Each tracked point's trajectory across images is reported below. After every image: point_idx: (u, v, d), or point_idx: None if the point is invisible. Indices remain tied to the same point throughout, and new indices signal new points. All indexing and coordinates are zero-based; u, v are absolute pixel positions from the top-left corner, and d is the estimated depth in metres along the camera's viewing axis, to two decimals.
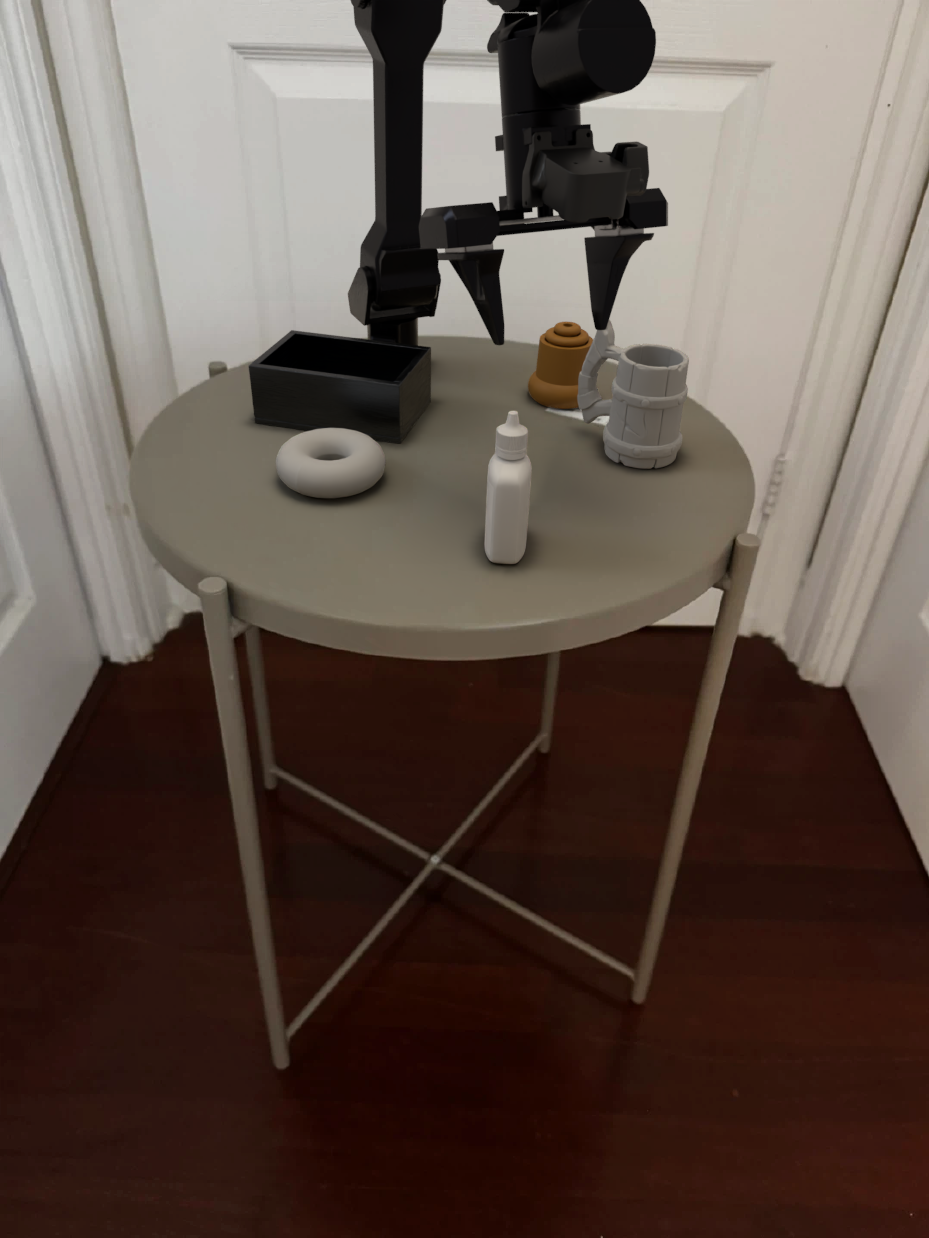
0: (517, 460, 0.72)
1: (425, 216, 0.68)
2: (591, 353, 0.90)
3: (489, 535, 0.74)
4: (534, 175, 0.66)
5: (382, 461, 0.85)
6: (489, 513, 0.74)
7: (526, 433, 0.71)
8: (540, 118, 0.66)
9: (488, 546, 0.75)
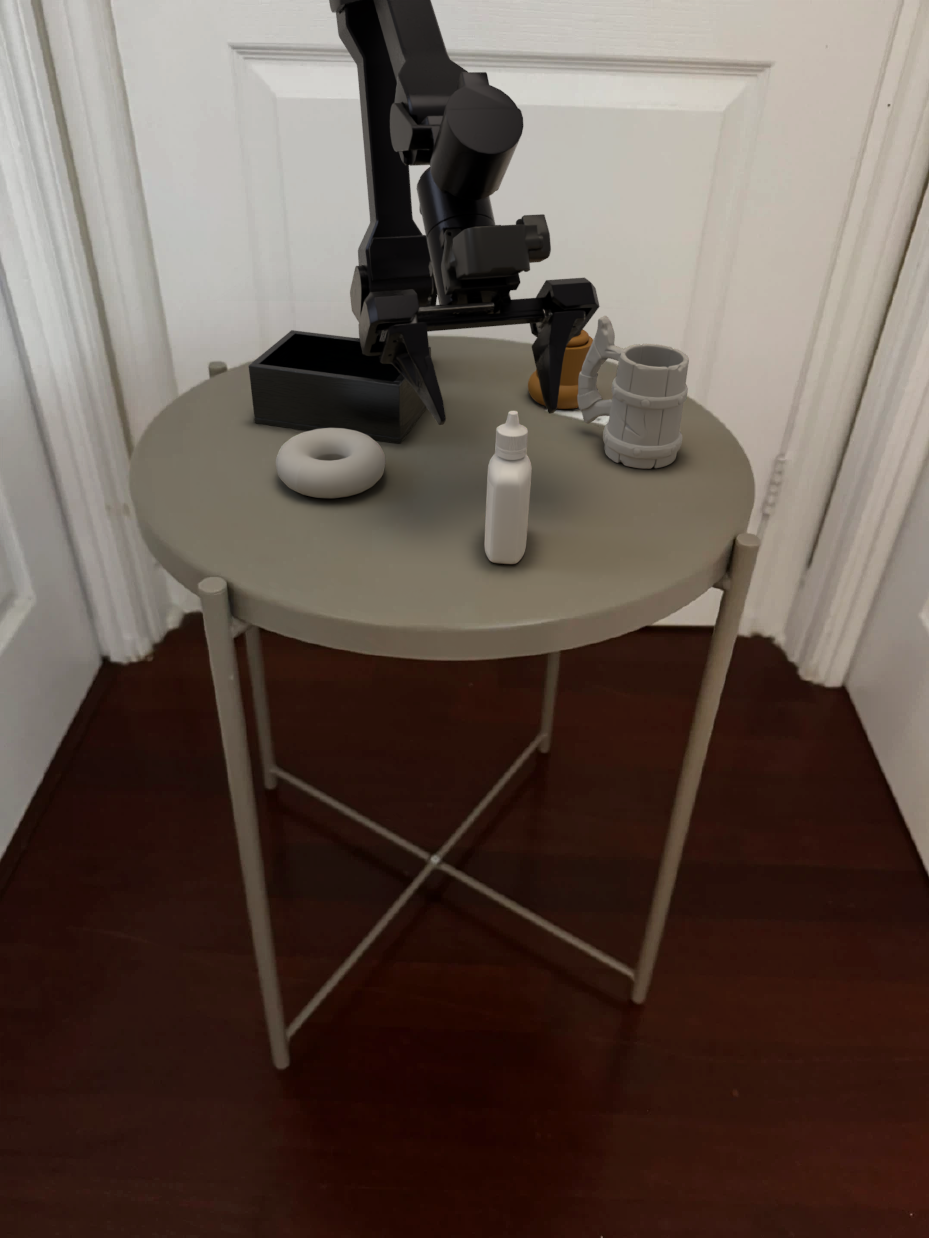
0: (517, 460, 0.72)
1: (359, 320, 0.74)
2: (591, 353, 0.90)
3: (489, 535, 0.74)
4: (448, 261, 0.72)
5: (382, 461, 0.85)
6: (489, 513, 0.74)
7: (526, 433, 0.71)
8: (451, 224, 0.73)
9: (488, 546, 0.75)
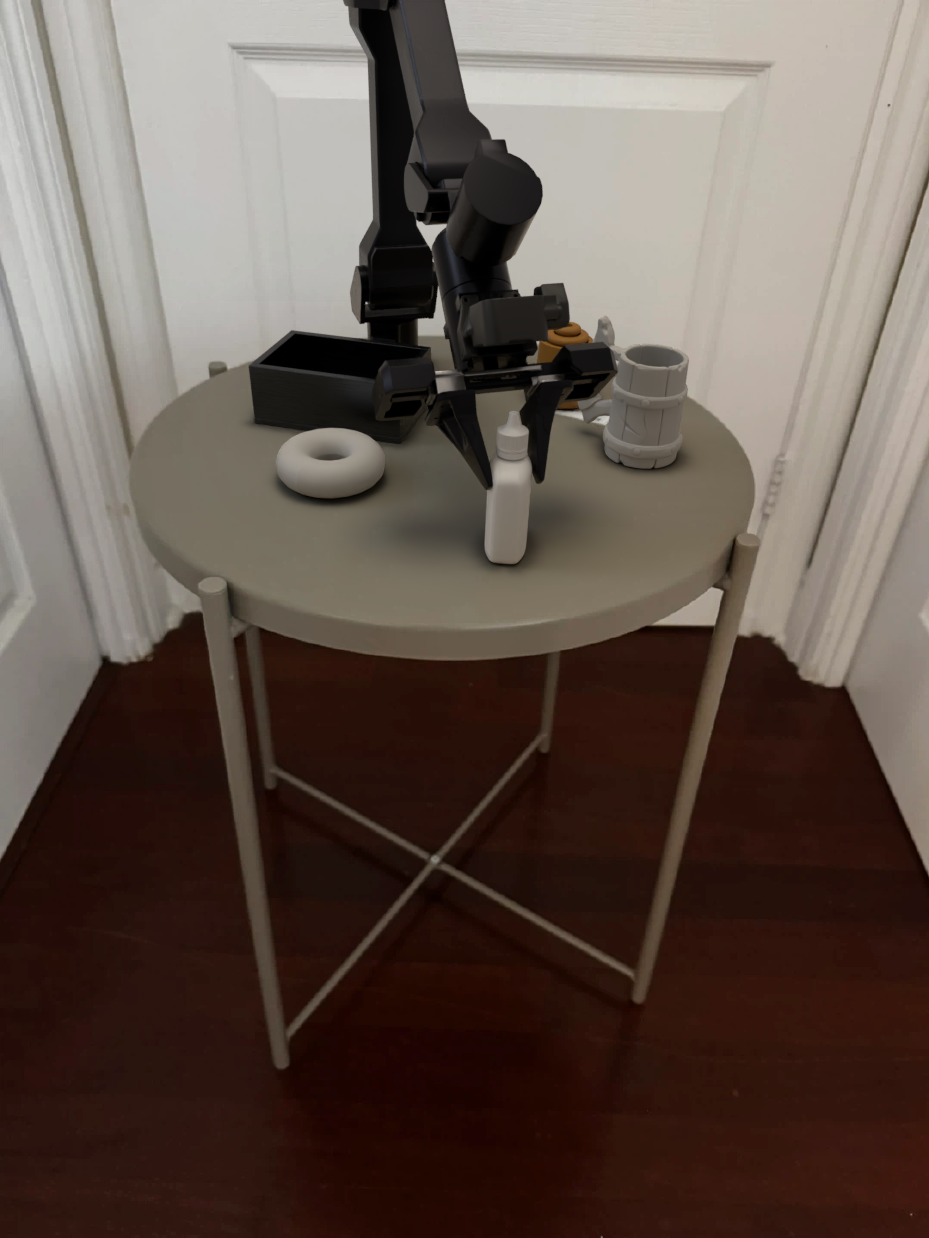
0: (517, 461, 0.72)
1: (373, 386, 0.73)
2: None
3: (489, 535, 0.74)
4: (464, 328, 0.70)
5: (382, 461, 0.85)
6: (489, 513, 0.74)
7: (527, 433, 0.71)
8: (467, 288, 0.72)
9: (488, 546, 0.75)
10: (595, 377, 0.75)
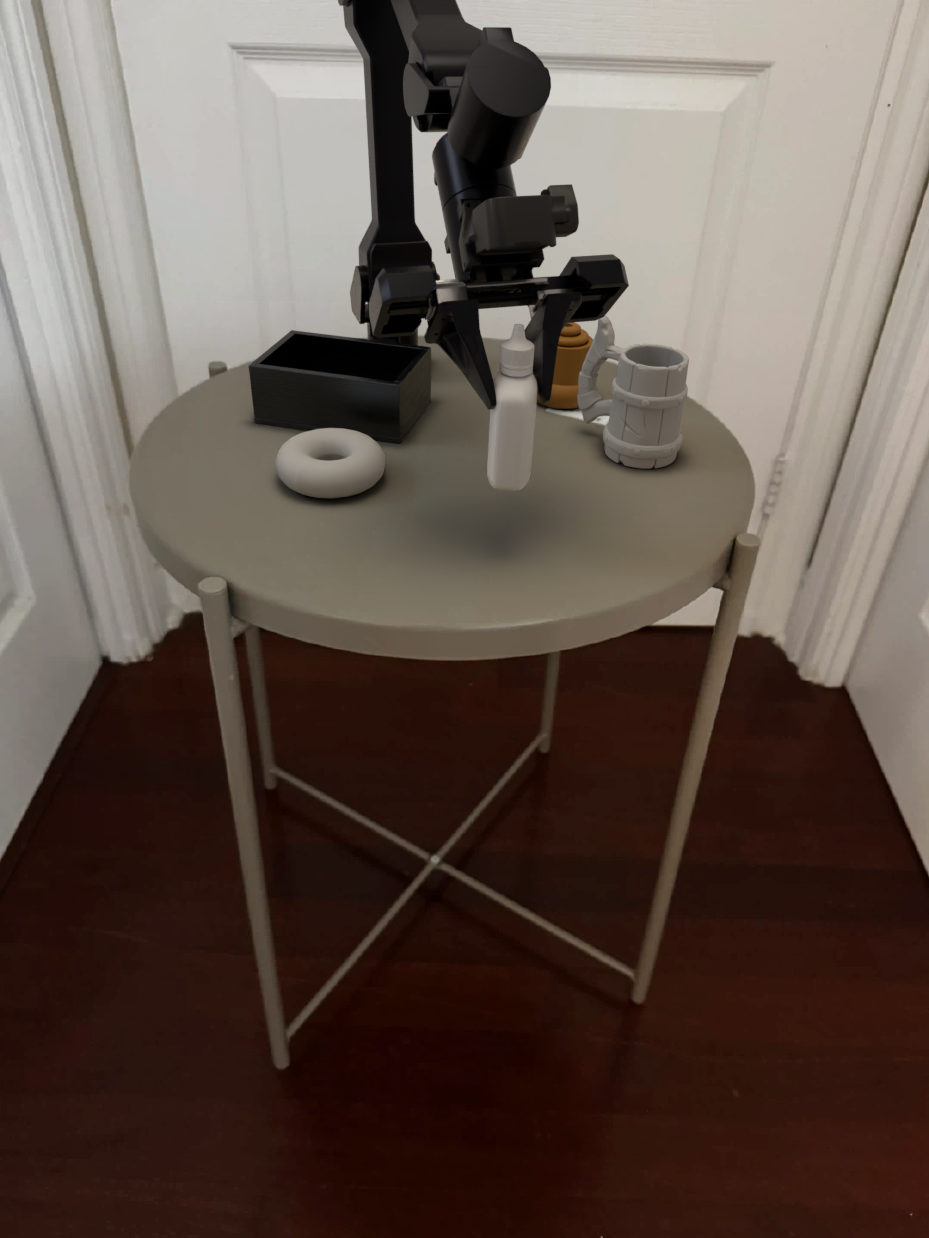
0: (522, 378, 0.68)
1: (370, 299, 0.69)
2: (591, 353, 0.90)
3: (492, 459, 0.71)
4: (467, 235, 0.66)
5: (382, 461, 0.85)
6: (492, 435, 0.70)
7: (532, 348, 0.67)
8: (470, 194, 0.68)
9: (491, 471, 0.71)
10: (604, 293, 0.71)
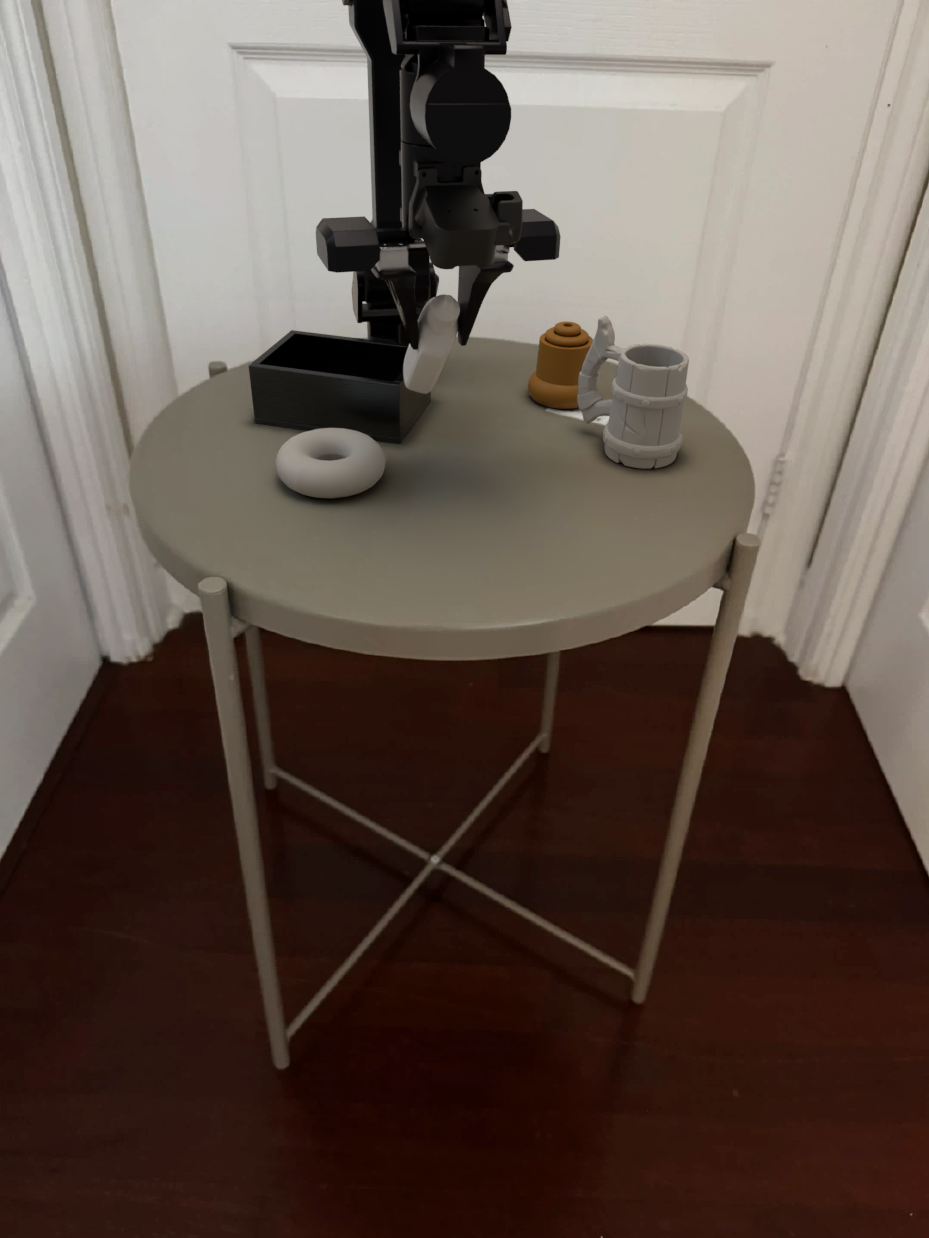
0: (444, 332, 0.77)
1: (318, 228, 0.72)
2: (591, 353, 0.90)
3: (408, 373, 0.82)
4: (417, 209, 0.69)
5: (382, 461, 0.85)
6: (411, 360, 0.81)
7: (457, 316, 0.76)
8: (429, 154, 0.68)
9: (406, 376, 0.84)
10: None
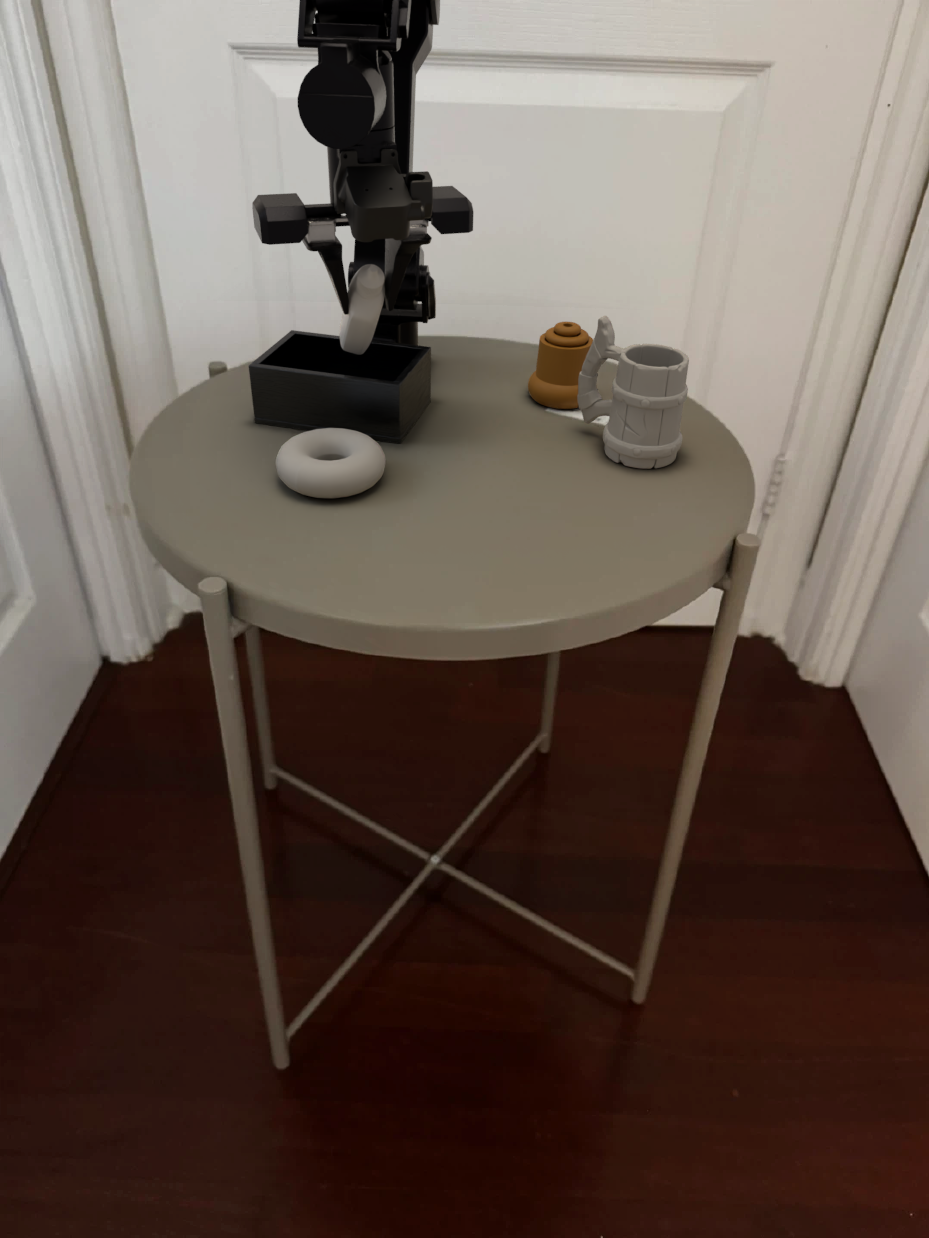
0: (372, 298, 0.86)
1: (253, 204, 0.80)
2: (591, 353, 0.90)
3: (343, 335, 0.91)
4: (340, 188, 0.77)
5: (382, 461, 0.85)
6: (344, 324, 0.89)
7: (382, 283, 0.84)
8: None
9: (341, 339, 0.92)
10: None
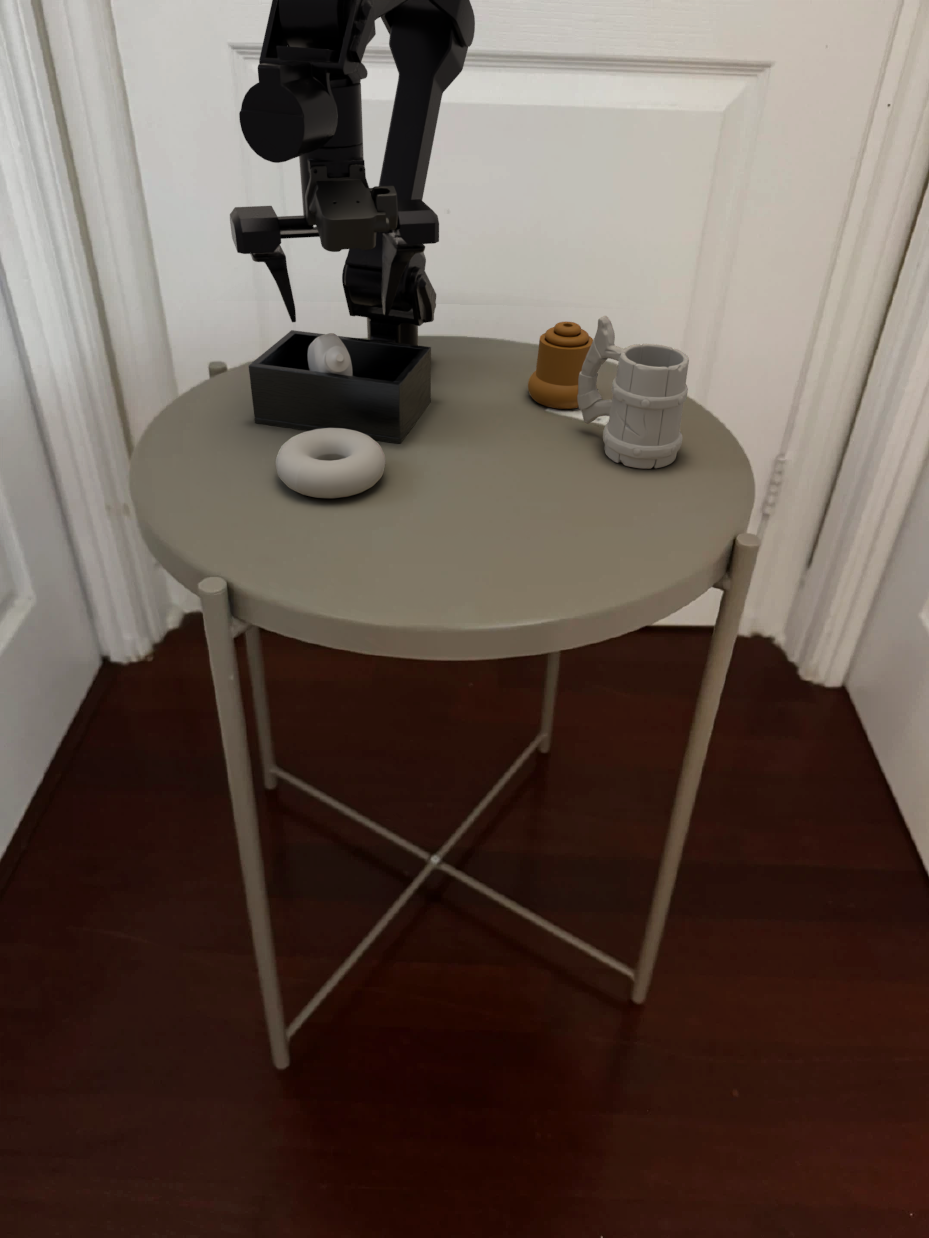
0: None
1: (230, 216, 0.85)
2: (591, 353, 0.90)
3: None
4: (310, 201, 0.82)
5: (382, 461, 0.85)
6: None
7: (350, 359, 0.90)
8: (319, 154, 0.81)
9: None
10: None
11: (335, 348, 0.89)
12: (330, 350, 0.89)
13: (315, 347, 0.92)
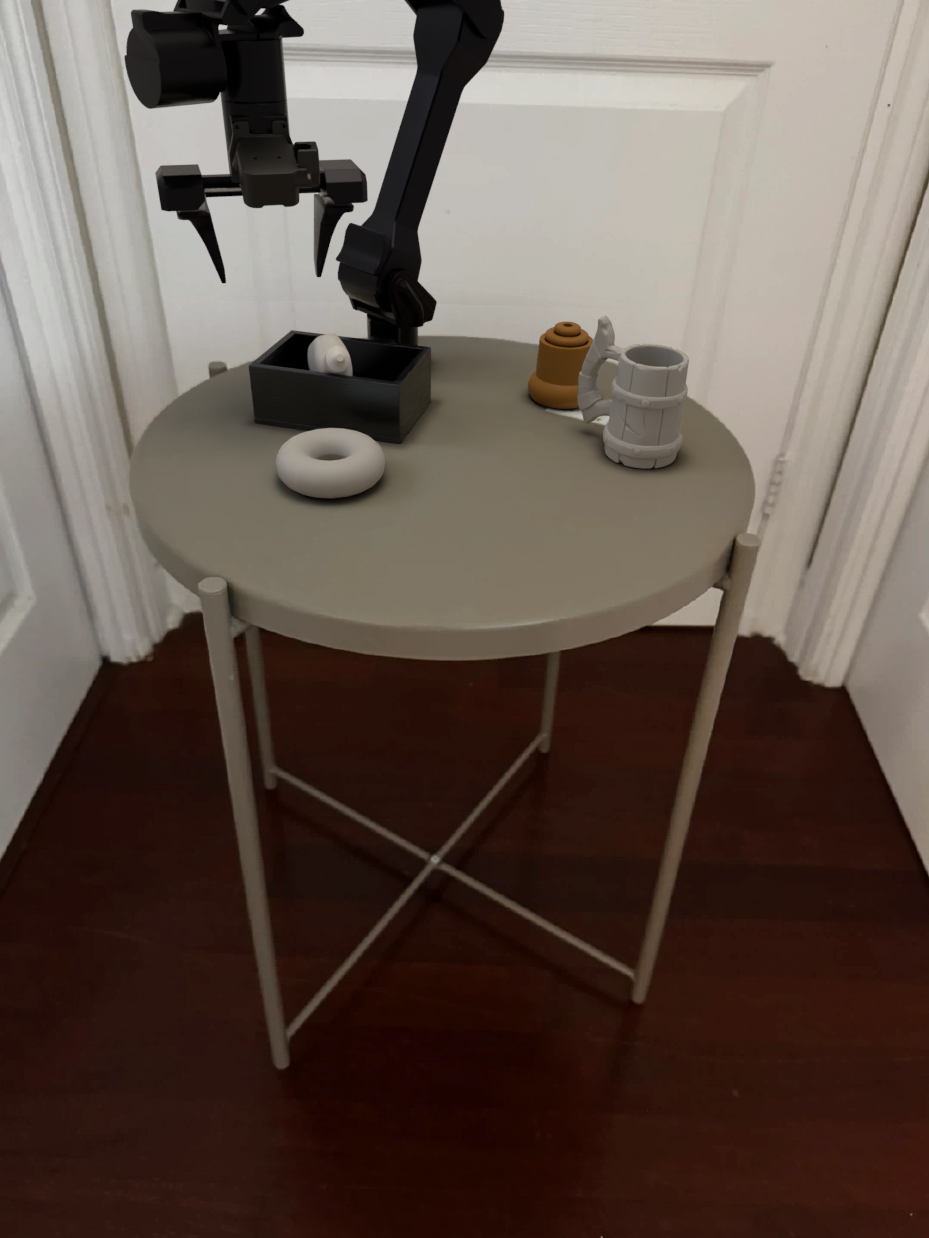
0: None
1: (156, 174, 0.85)
2: (591, 353, 0.90)
3: None
4: (233, 157, 0.82)
5: (382, 461, 0.85)
6: None
7: (350, 359, 0.90)
8: (241, 109, 0.81)
9: None
10: None
11: (335, 348, 0.89)
12: (330, 350, 0.89)
13: (315, 347, 0.92)
